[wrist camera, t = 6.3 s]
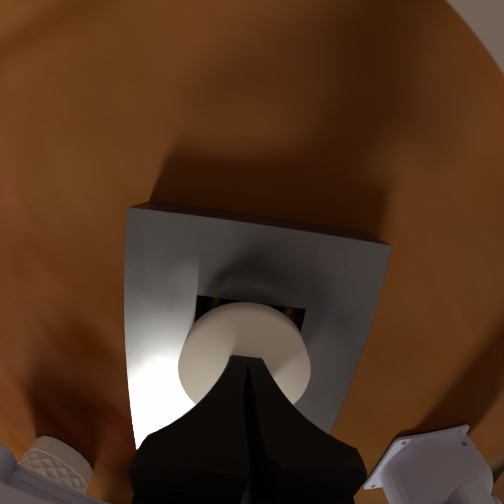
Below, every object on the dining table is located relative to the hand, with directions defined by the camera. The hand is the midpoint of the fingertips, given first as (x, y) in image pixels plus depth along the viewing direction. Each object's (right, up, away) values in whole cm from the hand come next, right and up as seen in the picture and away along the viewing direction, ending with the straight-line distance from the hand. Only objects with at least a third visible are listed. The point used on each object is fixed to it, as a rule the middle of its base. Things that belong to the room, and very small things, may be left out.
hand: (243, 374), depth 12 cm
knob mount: (-1, -5, +6) cm, 8 cm away
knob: (0, +1, +5) cm, 5 cm away
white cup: (-19, -16, +9) cm, 26 cm away
